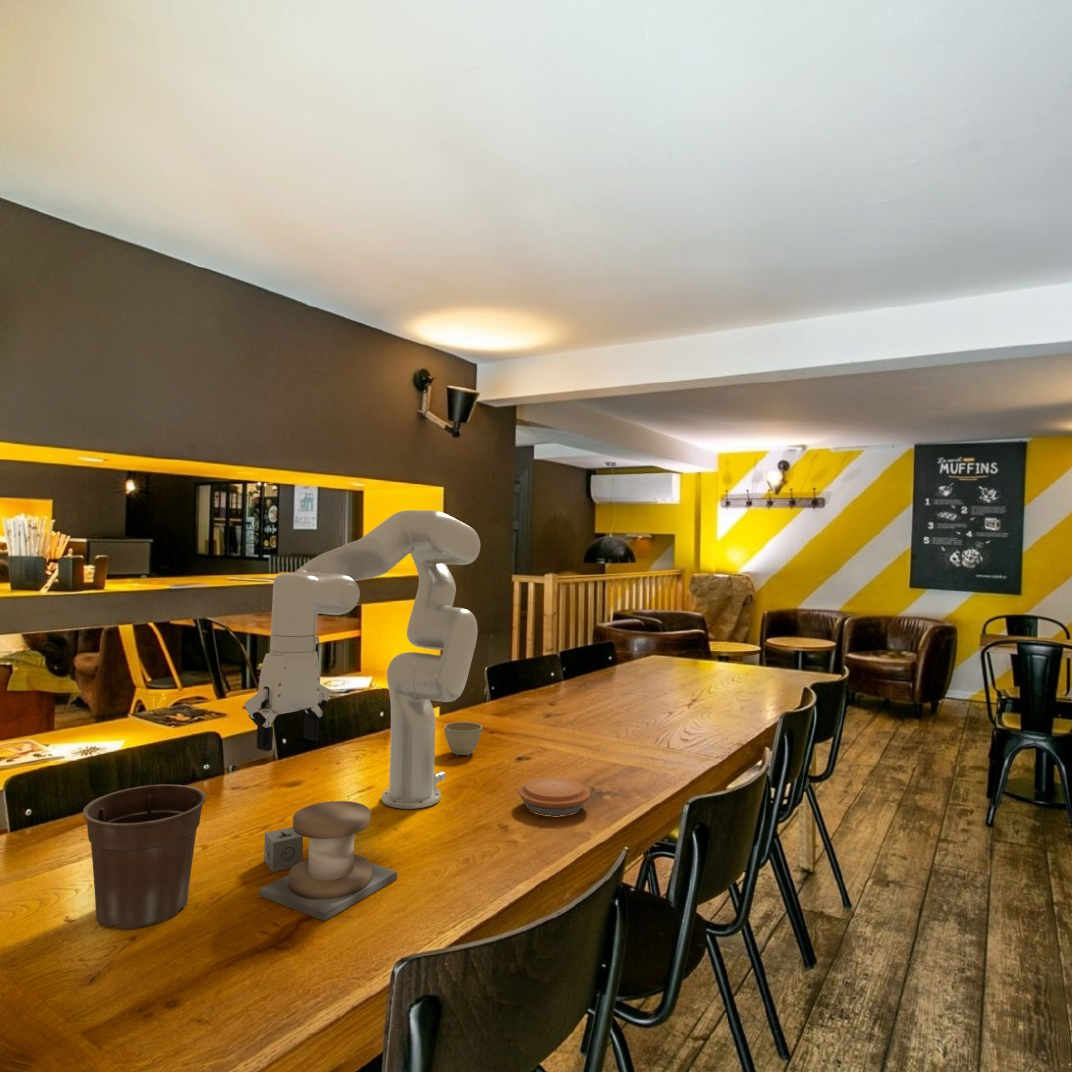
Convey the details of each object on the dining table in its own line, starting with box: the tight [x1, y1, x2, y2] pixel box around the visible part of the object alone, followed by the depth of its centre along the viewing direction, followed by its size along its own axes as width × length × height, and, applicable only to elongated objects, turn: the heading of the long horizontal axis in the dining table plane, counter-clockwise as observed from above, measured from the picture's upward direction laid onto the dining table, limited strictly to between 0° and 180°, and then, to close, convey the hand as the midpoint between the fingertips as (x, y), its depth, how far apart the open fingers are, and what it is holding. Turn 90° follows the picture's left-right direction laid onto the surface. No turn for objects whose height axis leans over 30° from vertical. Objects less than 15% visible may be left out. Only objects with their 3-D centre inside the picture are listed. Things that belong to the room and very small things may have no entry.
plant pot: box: [82, 784, 207, 931], centre depth 109 cm, size 16×16×16 cm
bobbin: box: [259, 800, 398, 922], centre depth 117 cm, size 16×14×12 cm
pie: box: [517, 776, 591, 816], centre depth 155 cm, size 15×16×5 cm
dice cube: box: [263, 826, 304, 873], centre depth 126 cm, size 5×5×5 cm
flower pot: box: [443, 721, 483, 756], centre depth 193 cm, size 10×10×7 cm
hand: (288, 744), depth 126 cm, fingers open, 9 cm apart
